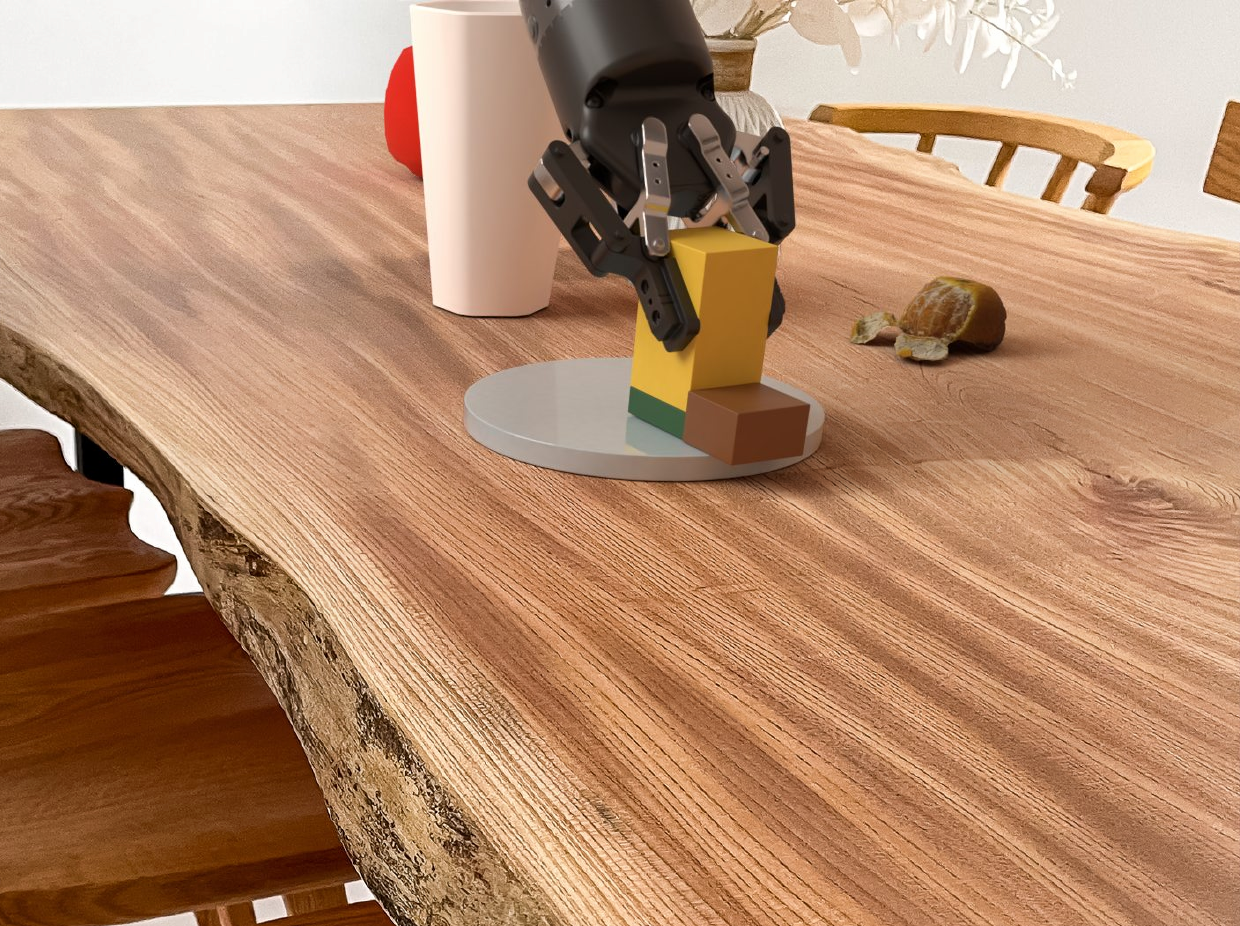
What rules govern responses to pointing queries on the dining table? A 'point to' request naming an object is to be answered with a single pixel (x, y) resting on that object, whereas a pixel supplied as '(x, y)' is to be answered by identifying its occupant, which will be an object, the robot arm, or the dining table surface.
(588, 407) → the plate
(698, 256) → the sponge
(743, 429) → the brown block
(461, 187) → the cup
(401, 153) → the tomato
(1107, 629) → the dining table surface
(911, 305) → the fruit
